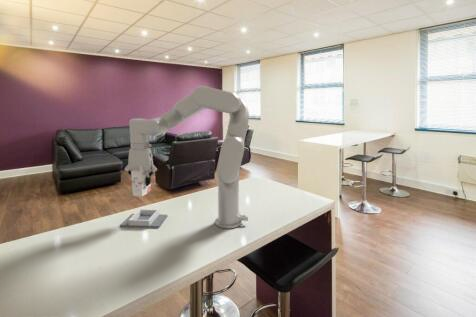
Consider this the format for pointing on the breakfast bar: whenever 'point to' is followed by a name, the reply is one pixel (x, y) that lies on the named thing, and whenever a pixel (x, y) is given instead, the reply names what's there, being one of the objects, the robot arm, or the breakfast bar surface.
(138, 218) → the board
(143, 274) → the breakfast bar surface
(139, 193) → the ink cartridge box
